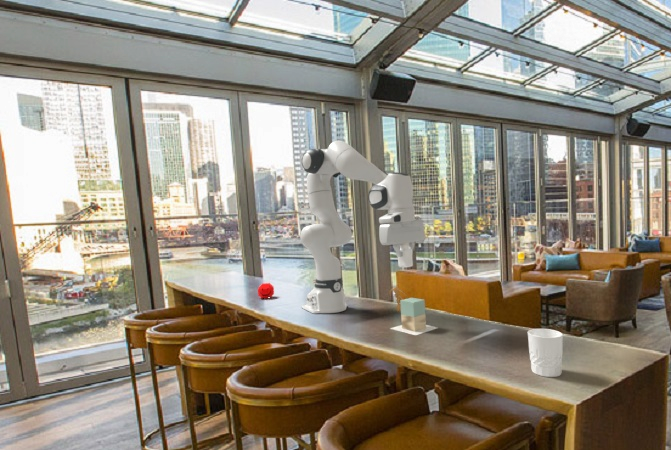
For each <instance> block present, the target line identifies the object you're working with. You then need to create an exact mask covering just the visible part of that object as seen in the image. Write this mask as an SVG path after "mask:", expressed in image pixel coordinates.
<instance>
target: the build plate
mask: <svg viewBox="0 0 671 450" xmlns="http://www.w3.org/2000/svg"><path fill="white" fill-rule="evenodd" d="M389 329H390V330H393V331H396V332H397V331H398V332H402V333H406V334H409V335H413V336H418V335H422V334H424V333H428V332H430V331H434V330H436V329H438V327H437V326H432V325H428V324H426V328H424V329H421V330H418V331H415V332H414V331H410V330H406V329H402V324H400V325H397V326H393V327H390V328H389Z"/></svg>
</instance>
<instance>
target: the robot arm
mask: <svg viewBox="0 0 671 450" xmlns="http://www.w3.org/2000/svg"><path fill="white" fill-rule="evenodd" d="M301 165H302V168H303V170H304V171H305V172H307V173H308V174H307V177H306V191H307V198H308V205H309V210H310V213H311V214H312V215H314V216H315V217H317V219H318V220H320V222H321V223H313V224H310V225H306V226H304V227H303V228H302V230H301V231H300V235H299V237H300V239H299V240H300V243H301V244H302V246H304V247H305V248H306V249H307V250H308V251H309V252H310V254H311V256H312V257H313V260H314V265H315V273H316V275H315V276H316V278H315V279H313V283H314V287H313V288H312V289H311V291H310V292H308V293H307V294H306V303H304V304H303V305H302V304H301V309H303V310H305V311H308V312H309V313H312V314H335V313H340V312H343V311H346V310H347V307H348V303H346V298H345V297H346V296H345V291H344V290H345V289H344V288H343V277H342V268H341V261H340V259H339V258H338V257H336V256H335V255H334V254H333V253H332V251H331V248H335V247H342V246H344V245H347V244H348V243H350V242H351V239H352V234H353V233H352V229H351V227H350V226H349V224H347V223H346V222H344V220H342V218H341V217H340V215H339V214H338V212H337V210H336V206H335V202H334V196H333V190H332V187H331V179H332V177H333V178H338V177H339V175H342V176H344V177H345V178H347V179H349V180H353V181H364V182H366V183H367V182H368V183H371V184H373V185H372V187H370V188H369V191H368V194H367V199H368V200H367V201H368V203H369V206H370V207H371V208H372V209H374V210H378V211H379V210H380V211H382V210H384V211H387V210H388V213H386V214H384V215H382V216H380V217H379V218H378V223H379V224H380V225H379V227H378V228H379V229H378V231H379V232H378V234H379V236H378V237H379V242H380V244H381V245H382V246H390V245H392V248H393V249H394V251H395V255H396V257H397V258H398V257H402V256H403V252H401V250H400V244H401V243H407V242H408V243H409V249H411V250H412V256H413V255H414V252H413V251H414V248H415V245H416V244H415V242H416V243H417V242H424V241H425V240H426V232H425V230H426V229H425V226H424V223H423V219H422V218H421V217H420V216H418V215H417V216H415V207H414V206H415V205H414V203H413V198H414V190H413V189H414V188H413V183H412V178H411V176H410V174H409V173H407V172H396V171H395V172H394V171H392V172H389V173H386V172H385V171H384V170H383V169H381V168H380V167H378V166H377V165H376V164H374V163H373V162H371V161H370V160H368V159H367V158H365V156H363V155H362V154H361V153H360V152H358V151H357V150H356V149H355V148H354V147H353V146H352V145H350V144H348V143H347V142H346V141H344V140H339V139H338V140H334V141H332V142H331V143H330V144H329V146H328V147H327V148H311V149H308V150H306V151H305V152H304V153H303V154H302V158H301Z"/></svg>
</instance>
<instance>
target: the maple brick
mask: <svg viewBox="0 0 671 450" xmlns="http://www.w3.org/2000/svg"><path fill="white" fill-rule="evenodd" d="M400 317H401V325H402V329H406V330H410V331H414V332H415V331H418V330H421V329H424V328H426V325H427V318H426V313H425V314H423V315H420V316H416V317H411V316H406V315H402V314H401V313H400Z"/></svg>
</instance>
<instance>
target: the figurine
mask: <svg viewBox="0 0 671 450" xmlns="http://www.w3.org/2000/svg"><path fill="white" fill-rule="evenodd" d="M392 291H393V293H394V297H395V300H396V303H397V304H396V306H395V311H396V312H397V313H401V304H400V302H399V301H400V300H403V297H402V296H401V294H400V292H401V293H402V294H403V296H405V297H406V298H408V296H407V295H406V293H404V291H403V290H402V289H400V288H399V285H397V284H396V286H395V287H393V288H391V289H389V296H392V294H391V293H392Z"/></svg>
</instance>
